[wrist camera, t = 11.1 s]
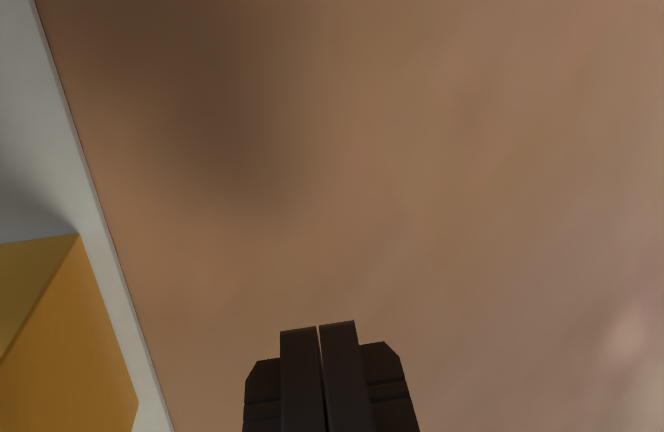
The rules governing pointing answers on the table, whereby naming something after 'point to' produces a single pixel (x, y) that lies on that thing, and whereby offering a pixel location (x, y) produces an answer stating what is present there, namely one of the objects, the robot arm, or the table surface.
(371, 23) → the table surface
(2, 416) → the mustard block
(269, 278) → the table surface
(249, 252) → the table surface
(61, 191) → the desk mat
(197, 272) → the table surface
